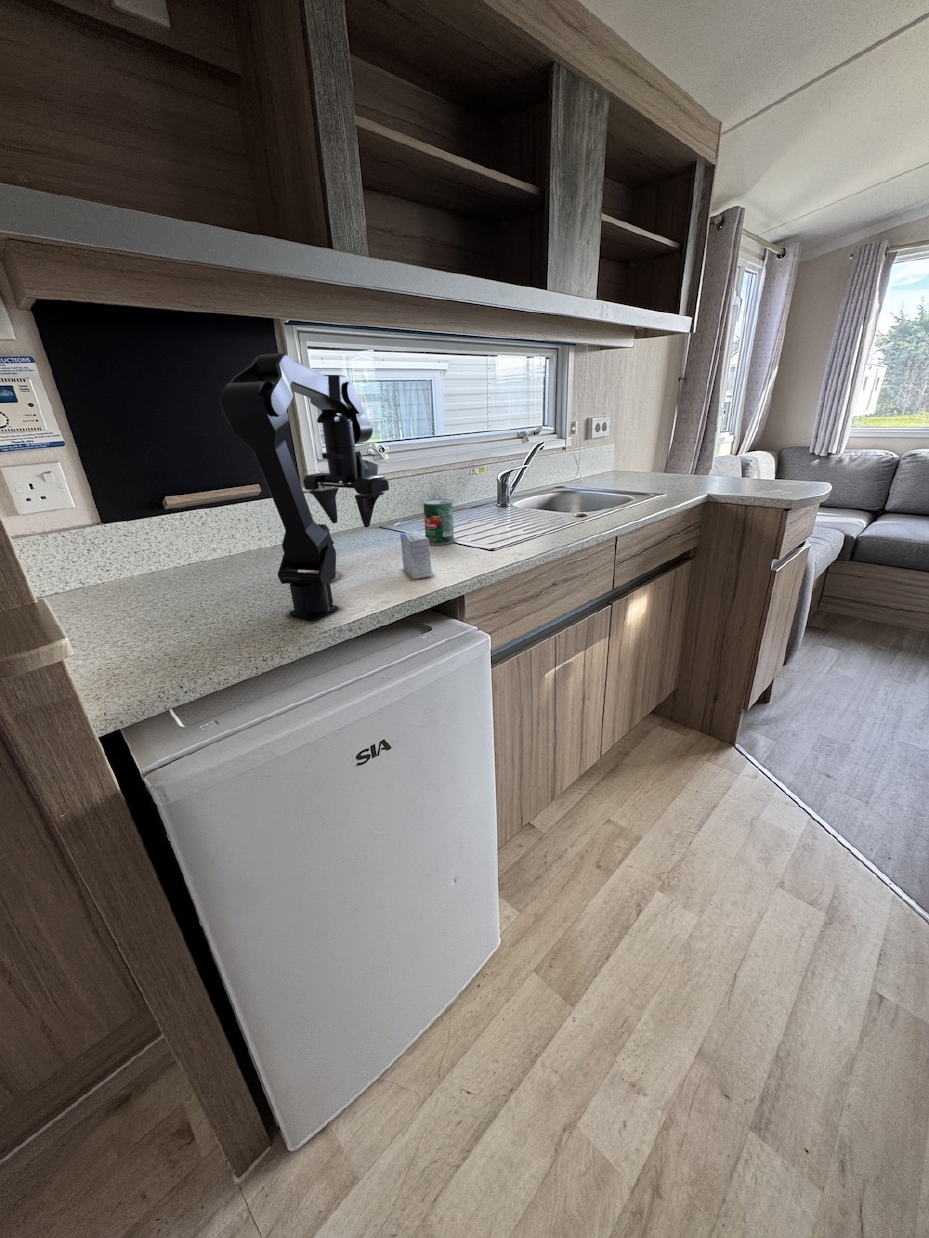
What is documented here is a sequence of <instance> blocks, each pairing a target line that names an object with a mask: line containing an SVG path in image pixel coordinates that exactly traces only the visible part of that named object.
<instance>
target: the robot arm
mask: <svg viewBox="0 0 929 1238" xmlns="http://www.w3.org/2000/svg"><path fill="white" fill-rule="evenodd" d="M293 393H296V394H298V395H300V396H304V397H306V398H308V399H309V402H310V404H311V405H312V406H314V407H315V408H317V409H318V410H320V411H321V413H320V415H318V417H317V419H316V422H317V424H321V425H322V431H323V438H324V445H325V452H323V453H322V452H321V457H322V460H327V466H328V468H327V469H328V472H316V473H311V474H306V475H305V477H304V479H303V480H302V481H303V485H304V486H303V487H304V490H307V491H308V490H309V491H308V492H309V494H310V495H312V496H313V497H314V498H315V499H316V502H318V504H319V505H320V506H321V508H322V510H323V511H324V512H325V514H326V515H327V517H328V518H329V520H330V522H331V523H332V524H337V523H338V508H337V498H336V496H337V494H338V491H339V488H344V489H354V491H355V492H356V493H357V494H355V495H354V498H355V502H356V504H357V508H358V512H359V515H360V519H361V522H362V524H363V527H364V528H369V527H370V525H371V521H372V517H373V512H374V508H375V505H376V503H377V501H378V499H379V497H381V496H384V494H385V492H388V491H390V485H389V483H390V482H389V480H388V478H387V477H386V476H385V475H378V472H379V464H377V463H376V462H372V461H370V460H366V459H363V456H362V453H361V451H360V450H356V445H357V444H362V443H366V442H368V441H369V440H370V439H371V437H372V435H373V430H374V429H373V425H372V423H371V421H370V419H369V418H368V417H367V416H366V415H364V413H365V410H364V407H363V405H362V403H361V400H360V397H359V395H358V392H357V390H356V387H355V385H354V384H353V382H352V381H351V379H350V378H349V377H348V376H347V375H342V374H325V373H322V372H320V371H318V370H315V369H313V368H312V367H310V366H307V365H305V364H302V363H300V362H299V361H296V360H294V359H292V358H291V356H290V355H288V354H285V353H283V352H282V353H281V352H279V353H265V354H263V353H262V354H260V355H258V356H256V357H254V359H253V360H252V362H251V363H250V365H249V366H247V367H246V368H244V369H243V370H242V371H240V372H239V373H237V374H236V375H234V376H233V377H232V378H231V379H230V381H229V383H227V384H226V385H224V386H223V389H222V393H221V395H220V399H219V402H220V406H221V407H220V408H221V410H222V412H223V415H224V416H225V418H226V421H227V422H228V424H229V426H230V427H231V429H232V431H233V433H234V435H236V436H237V437H238V438H240V439H241V440H242V441H243V442H244V443H245V444H246V445H247V446H249V447H250V448H251V449H252V451H253V454H254V456H255V458H256V461H257V463H258V466H259V468H260V471H261V473H262V476H263V478H264V481H265V483H266V485H267V488H268V490H269V494H270V496H271V498H272V500H273V503H274V506H275V508H276V510H277V513H278V516H279V517H280V520H281V522H282V525H283V527H284V534H283V539H282V543H281V547H282V551H283V555H282V557H281V558H282V559H281V561H280V565H279V569H278V570H277V571H278V572H277V577H278V580H279V582H280V583H281V584H282V585H285V584H286V585H287V584H288V585H289V589H290V594H291V600H292V604H293V609H292V610H290V611H289V612H288V613H289V615H290V616H293V617H297V618H300V619H303V620H307V621H316V620H318V619H320V618H322V617H324V616H327V615H329V614H331V613H333V612H335V611H337V610H339V606H338V605H335V604H334V599H333V593H332V586H331V582H330V581H332V580H333V579H334V578H335V577H336V572H337V569H336V568H337V552H336V551H337V550H336V548H335V546H334V544H335V542H334V540H333V538H332V536H331V532H330V529H329V527H328V525H327V524H325V523H321V524H320V523H317V522H315V521H314V518H313V515H312V513H311V510H310V507H309V504H308V501H307V498H306V496H305V492H304V490H303V487H302V484H301V481H300V479H299V476H298V473H297V470H296V467H295V464H294V462H293V460H292V456H291V453H290V451H289V448H288V444H287V441H286V436H287V431H288V427H289V424H290V419H289V415H288V411H287V410H288V408H289V406H290V404H291V402H292V401H293V398H294V394H293ZM299 571H319V572H318V573H307V572H299ZM329 582H330V583H329Z"/></svg>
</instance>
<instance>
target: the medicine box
mask: <svg viewBox="0 0 929 1238" xmlns="http://www.w3.org/2000/svg"><path fill="white" fill-rule="evenodd" d="M400 543H401V552H402V553H401V554H402V555H401V556H402V564H403V566H402V567H403V570H404V571H405V572H406V573H407V574H408V575H409V576H410V577H411V578H412V579H413V580H416V579H417V580H418V579H423V578H430V577H432V576H433V573H432V572H433V571H432V562H431V550H430V548H431V547H430V544H429V539H428V538H427V537H425V534H423V533H422V532H420V531H418V530H416V531H415V530H414V531H406V532H402V533H400Z"/></svg>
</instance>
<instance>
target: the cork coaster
mask: <svg viewBox="0 0 929 1238" xmlns="http://www.w3.org/2000/svg"><path fill="white" fill-rule="evenodd" d="M318 572H319V571H313V570H310V571H308V572H306V573H318ZM339 578H340V573H339V572H338V571H336V577H335V578H334V579H333V580H332V581H330V582H329V584H331V583H333V582H335V581H337V580H338V579H339Z"/></svg>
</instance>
